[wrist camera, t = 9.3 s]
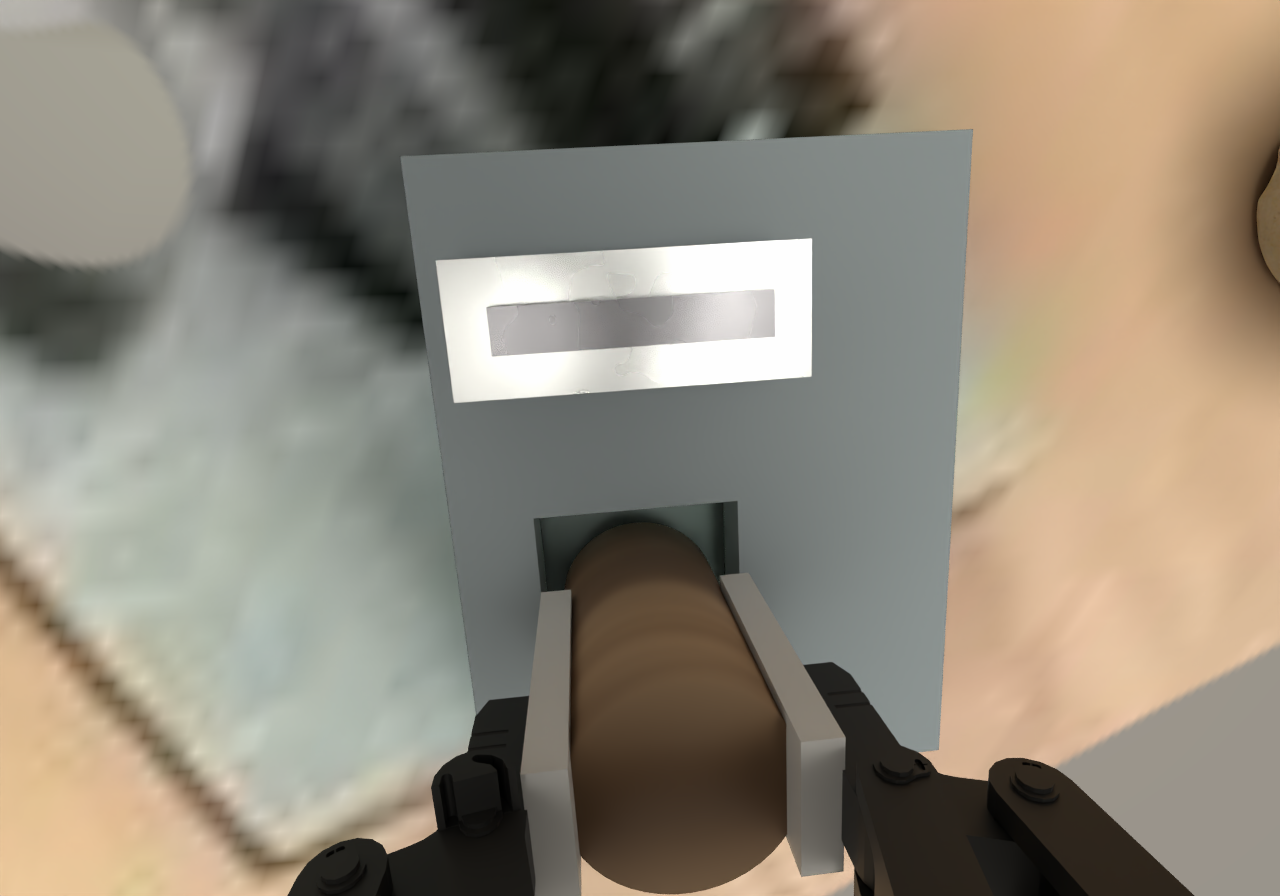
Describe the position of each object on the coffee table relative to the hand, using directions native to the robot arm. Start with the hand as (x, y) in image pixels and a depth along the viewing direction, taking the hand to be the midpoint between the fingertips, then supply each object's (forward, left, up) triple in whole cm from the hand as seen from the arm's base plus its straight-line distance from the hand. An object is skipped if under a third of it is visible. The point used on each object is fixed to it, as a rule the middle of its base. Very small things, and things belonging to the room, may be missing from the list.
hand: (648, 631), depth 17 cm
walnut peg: (0, 0, -2) cm, 2 cm away
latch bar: (-8, 0, -2) cm, 8 cm away
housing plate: (-3, +2, -4) cm, 5 cm away
